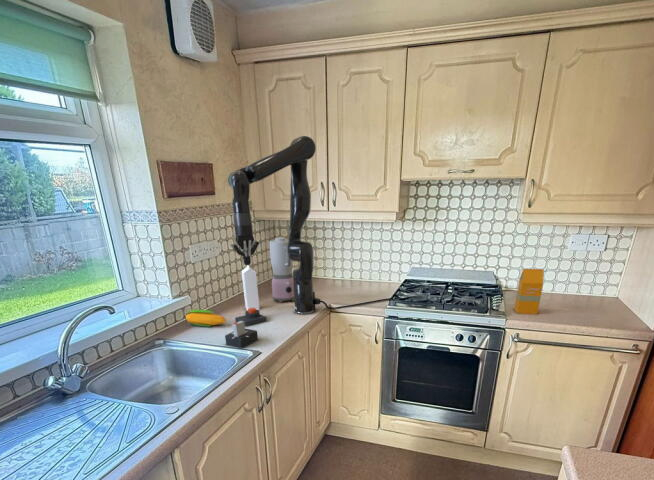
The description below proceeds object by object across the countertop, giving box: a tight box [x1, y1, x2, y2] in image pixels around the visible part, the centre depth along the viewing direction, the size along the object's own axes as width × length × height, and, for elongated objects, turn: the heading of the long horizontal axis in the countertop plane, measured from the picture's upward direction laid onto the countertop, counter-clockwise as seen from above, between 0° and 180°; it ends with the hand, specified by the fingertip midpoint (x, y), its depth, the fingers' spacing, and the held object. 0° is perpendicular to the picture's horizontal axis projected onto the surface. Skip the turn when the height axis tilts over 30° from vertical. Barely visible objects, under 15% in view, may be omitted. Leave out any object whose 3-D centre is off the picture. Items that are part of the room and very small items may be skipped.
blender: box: [269, 236, 294, 304], centre depth 211 cm, size 16×12×32 cm
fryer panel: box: [224, 328, 259, 349], centre depth 162 cm, size 11×9×4 cm
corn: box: [185, 308, 227, 328], centre depth 181 cm, size 7×8×20 cm
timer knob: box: [232, 321, 246, 337], centre depth 159 cm, size 5×2×5 cm, turn 152°
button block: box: [234, 310, 267, 328], centre depth 186 cm, size 11×9×4 cm
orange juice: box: [513, 268, 544, 315], centre depth 190 cm, size 8×9×20 cm
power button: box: [248, 308, 256, 313], centre depth 187 cm, size 4×4×2 cm
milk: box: [240, 265, 261, 311], centre depth 200 cm, size 6×6×22 cm
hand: (247, 264), depth 180 cm, fingers closed
